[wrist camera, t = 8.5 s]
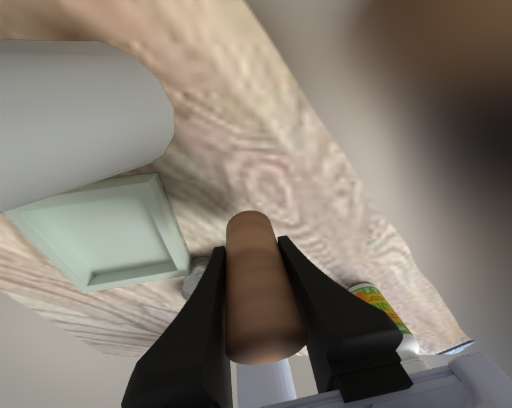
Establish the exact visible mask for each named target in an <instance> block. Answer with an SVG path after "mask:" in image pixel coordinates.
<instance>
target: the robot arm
mask: <svg viewBox="0 0 512 408" xmlns="http://www.w3.org/2000/svg"><path fill="white" fill-rule="evenodd" d="M278 246H279V249H280V252H281V255H282V258H283V261H284V264H285V267H286V270H287V273H288V276H289V279H290V282H291V284H292V287H293V290H294V293H295V296H296V299H297V302H298V305H299V308H300V311H301V314H302V317H303V320H304V323H305V326H306V329H307V332H308V335H309V338H308V342H307V343H306V346H307V350H308V354H309V358H310V362H311V366H312V369H313V373H314V377H315V381H316V385H317V389H318V394H316V395H312V396H308V397H303V398H299V399H297V397H296V393H295V388H294V384H293V380H292V375H291V371H290V366H289V362H288V358H286V359H283V360H280V361H277V362H273V363H269V364H263V365H244V364H239V363H236V365H237V367H236V368H237V397H238V408H512V381H511V380H510V379H509V378H508V377H507V376H506V375H505V374H504V373H503V372H502V371H501V370H500V369H499V368H498V367H497V366H496V365H495V364H494V363H493V362H492V361H491V360H490V359H489V358H488V357H487V356H486V355H485V354H484V353H483V352H476V353H471V354H467V355H462V356H459V357H456V358H454V359H452V360H451V361H450V362H449V363H448V365H445V366H441V367H437V368H432V369H428V370H423V371H419V372H414V373H410V374H407V372H406V371H405V369H404V368H403V366H402V365H401V363H400V362H401V361H402V360H401V358H400V356H399V355H398V353H397V352H396V350H397V348H398V347H399V345H400V344H401V342H402V340H403V333H402V332H401V331H400V329H399V328H398V326H397V325H396V324H395V323H394V321H393V320H392V319H391V318H390V317H389V316H388V314H387V313H386V312H385V311H383V310H381V309H379V308H377V307H375V306H373V305H371V304H369V303H368V302H366V301H364V300H362V299H361V298H359V297H357V296H356V295H354V294H352V293H351V292H349V291H348V290H346V289H345V288H343V287H342V286H340V285H339V284H337V283H336V282H335V281H333V280H332V279H331V278H329V277H328V276H327V275H326V274H324V273H323V272H322V271H321V270H319V269H318V268H317V267H316V266H315V265H314V264H313V263H312V262H311V261H310V260H309V259H307V257H306V256H305V255H304V254H303V253H302V252H301V251H300V250H299V249H298V248H297V247H296V246H295V245H294V244H293V242H292V241H291V240H290V239H289V237H288V236H280V237H278ZM225 298H226V251H225V247H224V246H220V247H215V248H214V250H213V252H212V255H211V257H210V260H209V262H208V264H207V267H206V269H205V271H204V273H203V275H202V277H201V279H200V280H199V282H198V284H197V286H196V288H195V289H194V291H193V293H192V294H191V296H190V298H189V299H188V301H187V302H186V304H185V305H184V306H183V308H182V309H181V311H180V312H179V314H178V315H177V316H176V318H175V319H174V320H173V322H172V323H171V324H170V325H169V326H168V328H167V329H166V330H165V331H164V333H163V334H162V335H161V336H160V337H159V339H158V340H157V341H156V342H155V343H154V344H153V345H152V346H151V348H150V349H149V350H148V351H147V352H146V353H145V354H144V355H143V356H142V357H141V358H140V360H139V361H138V362H137V363H136V366H135V368H134V371H133V372H132V375H131V377H130V380H129V383H128V386H127V388H126V391H125V394H124V397H123V400H122V403H121V407H122V408H233V402H232V386H231V371H230V370H231V369H230V359H229V358H227V356H226V354H225Z"/></svg>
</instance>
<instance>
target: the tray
mask: <svg viewBox="0 0 512 408" xmlns="http://www.w3.org/2000/svg"><path fill="white" fill-rule="evenodd" d="M2 213H3V214H4V215H5V216H6V217H7V218H8V219H9V220H10V221H11V222H12V223H13V224H14V225H15V226H16V227H17V228H18V229H19V230H20V231H21V232H22V233H23V234H24V235H25V236H26V237H27V238H28V239H29V240H30V241H31V242H32V243H33V244H34V245H35V246H36V247H37V248H38V249H39V250H40V251H41V252H42V253H43V254H44V255H45V256H46V257H47V258H48V259H49V260H50V261H51V262H52V263H53V264H54V265H55V266H56V267H57V268H58V269H59V270H60V271H61V272H62V273H63V274H64V275H65V276H66V277H67V278H68V279H69V280H70V281H71V282H72V283H73V284H74V285H75V286H76V287H77V288H78V289H79V290H80V291H81V292H82V293H88V292H94V291H99V290H105V289H111V288H117V287H122V286H128V285H134V284H139V283H145V282H151V281H157V280H162V279H168V278H174V277H179V276H185V275H188V274H189V272H190V267H191V262H192V258H191V255H190V253H189V250H188V248H187V245H186V243H185V240H184V238H183V235H182V233H181V231H180V228H179V226H178V223H177V221H176V218H175V216H174V213H173V211H172V208H171V206H170V203H169V201H168V199H167V196H166V194H165V191H164V189H163V186H162V184H161V181H160V179H159V176H158V174H157V172H156V173H149V174H142V175H134V176H127V177H120V178H113V179H106V180H100V181H97V182H94V183H91V184H87V185H84V186H81V187H78V188H75V189H72V190H69V191H66V192H63V193H60V194H57V195H54V196H51V197H48V198H45V199H42V200H39V201H36V202H32V203H29V204H26V205H23V206H20V207H17V208H14V209H11V210H8V211H5V212H2Z"/></svg>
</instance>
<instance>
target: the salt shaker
mask: <svg viewBox="0 0 512 408" xmlns="http://www.w3.org/2000/svg"><path fill="white" fill-rule="evenodd" d="M174 133H175V128H174V109H173V106H172V104H171V102H170V100H169V98H168V96H167V94H166V91H165V89H164V87H163V85H162V83H161V82H160V81H159V80H158V79H157V78H156V77H155V76H154V75H153V74H152V73H151V72H150V71H149V70H148V69H147V68H146V67H145V66H144V65H143V64H142V63H141V62H140V61H139V60H138V59H137V58H136V57H135V56H133V55H131V54H129V53H127V52H124V51H122V50H120V49H118V48H116V47H113V46H111V45H109V44H107V43H105V42H102V41H40V40H12V39H0V213H2V212H5V211H8V210H11V209H14V208H17V207H20V206H23V205H26V204H29V203H32V202H36V201H39V200H42V199H45V198H48V197H51V196H54V195H57V194H60V193H63V192H66V191H69V190H72V189H75V188H78V187H81V186H84V185H87V184H91V183H94V182H97V181H100V180H103V179H106V178H109V177H112V176H115V175H118V174H121V173H124V172H127V171H130V170H133V169H136V168H139V167H142V166H146V165H148V164H150V163H151V162H153V161H154V160H156V159H158V158H159V157H161V156H162V155H164V154H165V152H166V150H167V148H168V146H169V144H170V142H171V140H172V137H173V135H174Z"/></svg>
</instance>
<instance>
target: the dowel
mask: <svg viewBox="0 0 512 408" xmlns="http://www.w3.org/2000/svg"><path fill="white" fill-rule="evenodd" d="M308 338H309V335H308V332H307V329H306V326H305V323H304V320H303V317H302V314H301V311H300V308H299V305H298V302H297V299H296V296H295V293H294V290H293V287H292V284H291V282H290V279H289V276H288V273H287V270H286V267H285V264H284V261H283V258H282V255H281V252H280V249H279V246H278V243H277V240H276V237H275V234H274V231H273V228H272V225H271V222H270V220H269V219H268V217H267V216H266V215H264V214H263V213H261V212H258V211H243V212H240V213H238V214H236V215H235V216H233V217H232V218H231V219H230V221H229V222H228V224H227V228H226V298H225V354H226V356H227V358H229V359H230V360H231V361H233V362H235V363H239V364H244V365H263V364H269V363H273V362H277V361H280V360H283V359H286V358H288V357H290V356H292V355H294V354H296V353H297V352H299V351H300V350H301V349H302V348H303V347H304V346H305V345H306V343H307V342H308Z"/></svg>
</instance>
